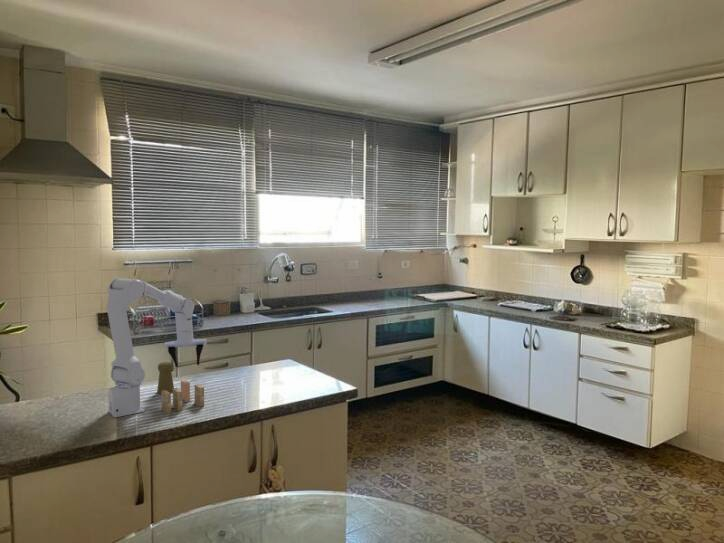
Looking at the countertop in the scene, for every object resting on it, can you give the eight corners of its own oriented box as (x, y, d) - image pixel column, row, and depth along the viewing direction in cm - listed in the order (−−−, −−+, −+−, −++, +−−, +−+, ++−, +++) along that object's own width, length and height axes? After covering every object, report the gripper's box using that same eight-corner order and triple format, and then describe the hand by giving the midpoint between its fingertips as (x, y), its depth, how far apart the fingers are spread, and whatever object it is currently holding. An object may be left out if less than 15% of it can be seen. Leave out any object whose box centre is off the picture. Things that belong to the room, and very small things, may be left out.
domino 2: (186, 401, 192) (185, 383, 191) (180, 398, 195) (180, 380, 195) (190, 401, 192) (189, 382, 192) (184, 397, 196) (184, 379, 196)
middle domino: (178, 411, 182) (177, 392, 181) (172, 407, 186) (172, 388, 185) (182, 410, 183) (182, 391, 182) (177, 406, 187) (176, 387, 186)
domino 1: (166, 413, 179) (166, 394, 179) (161, 409, 183) (161, 390, 183) (171, 412, 180) (170, 393, 180) (165, 408, 184) (165, 389, 184)
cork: (170, 394, 199) (170, 364, 198) (154, 394, 200) (153, 364, 199) (176, 389, 205) (176, 360, 204) (160, 389, 206) (160, 360, 205)
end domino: (200, 406, 186) (200, 388, 186) (194, 402, 190) (194, 384, 190) (204, 406, 187) (204, 387, 187) (198, 402, 191) (198, 384, 191)
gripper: (205, 325, 206) (208, 359, 209) (165, 328, 203) (168, 363, 206) (204, 330, 199) (207, 365, 202) (162, 333, 197) (166, 369, 199)
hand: (187, 365), depth 203 cm, fingers open, 7 cm apart
